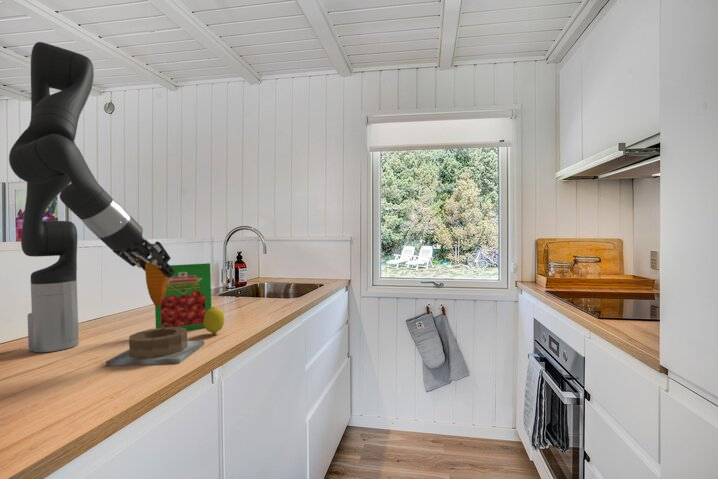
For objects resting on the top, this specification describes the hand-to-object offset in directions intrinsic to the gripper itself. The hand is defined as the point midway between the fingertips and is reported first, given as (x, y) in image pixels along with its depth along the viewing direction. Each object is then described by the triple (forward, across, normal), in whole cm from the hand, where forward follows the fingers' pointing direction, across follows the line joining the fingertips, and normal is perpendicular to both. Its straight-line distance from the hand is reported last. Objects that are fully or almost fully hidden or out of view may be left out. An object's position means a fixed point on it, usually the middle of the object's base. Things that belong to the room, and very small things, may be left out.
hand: (163, 274), depth 88 cm
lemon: (+25, +1, +2) cm, 25 cm away
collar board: (+12, 0, +15) cm, 19 cm away
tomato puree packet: (+26, +13, +1) cm, 29 cm away
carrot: (+4, 0, +7) cm, 8 cm away
